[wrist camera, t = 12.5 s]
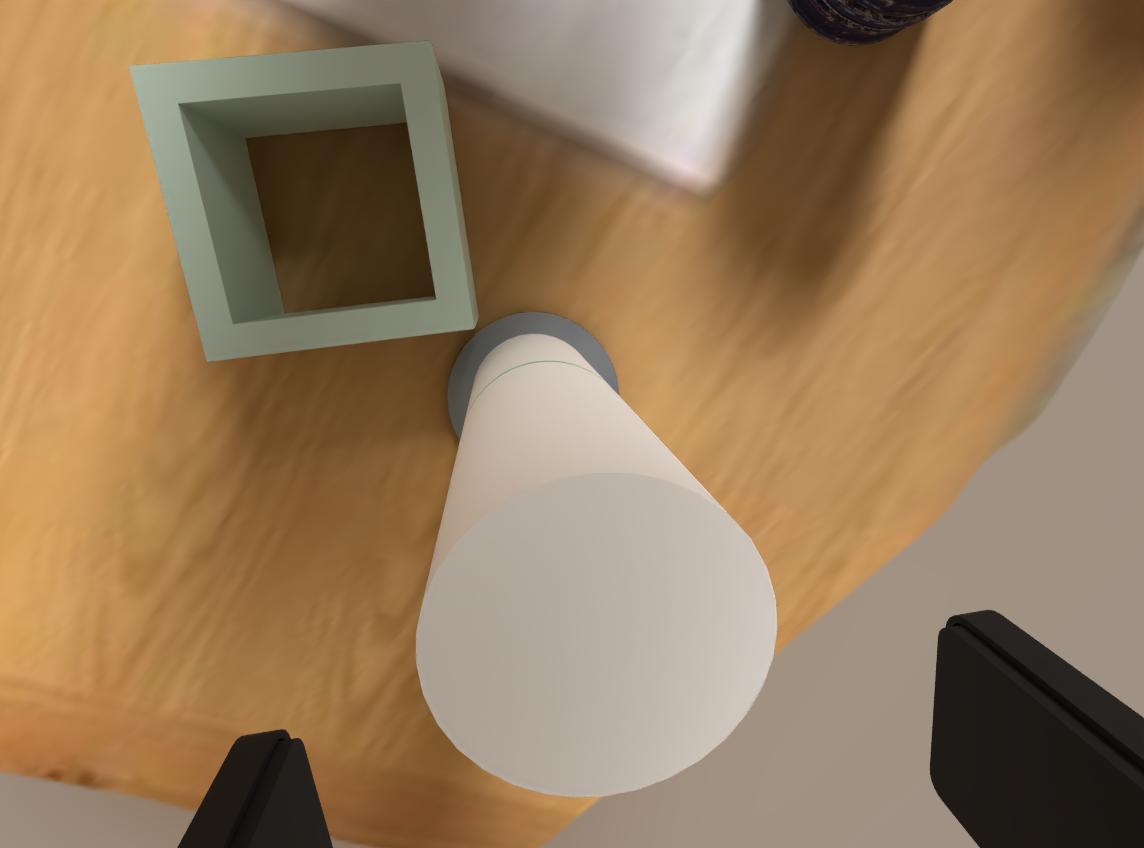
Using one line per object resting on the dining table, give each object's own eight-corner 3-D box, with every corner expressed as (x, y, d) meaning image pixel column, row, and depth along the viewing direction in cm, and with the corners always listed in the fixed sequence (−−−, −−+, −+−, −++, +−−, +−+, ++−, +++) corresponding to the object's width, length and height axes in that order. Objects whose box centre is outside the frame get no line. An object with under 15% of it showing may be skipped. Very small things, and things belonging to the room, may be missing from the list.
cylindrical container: (466, 447, 37) (399, 791, 12) (480, 325, 35) (434, 451, 11) (585, 460, 38) (736, 802, 14) (604, 342, 36) (814, 493, 12)
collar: (207, 109, 32) (128, 65, 25) (444, 87, 33) (430, 40, 26) (263, 343, 35) (206, 362, 28) (479, 317, 36) (474, 328, 29)
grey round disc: (435, 322, 35) (433, 324, 35) (608, 301, 36) (610, 302, 36) (462, 487, 38) (461, 491, 37) (623, 464, 39) (626, 468, 38)
